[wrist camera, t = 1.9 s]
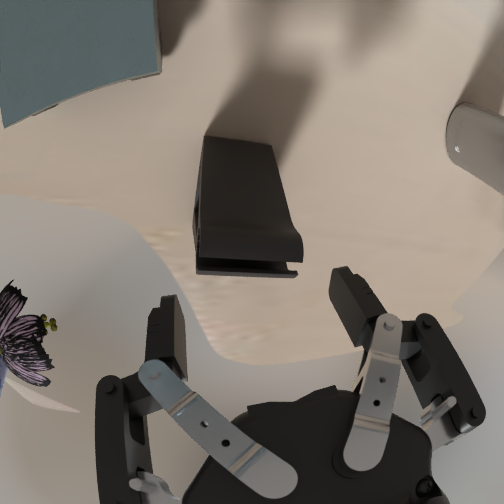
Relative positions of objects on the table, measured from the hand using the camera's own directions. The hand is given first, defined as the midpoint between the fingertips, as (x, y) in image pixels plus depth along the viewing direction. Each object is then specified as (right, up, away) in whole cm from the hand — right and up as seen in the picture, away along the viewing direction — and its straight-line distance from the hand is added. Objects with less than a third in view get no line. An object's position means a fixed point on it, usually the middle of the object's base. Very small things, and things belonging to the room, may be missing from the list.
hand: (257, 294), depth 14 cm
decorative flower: (-32, -6, +15) cm, 36 cm away
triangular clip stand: (-2, +8, +11) cm, 14 cm away
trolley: (-13, +24, -2) cm, 27 cm away
